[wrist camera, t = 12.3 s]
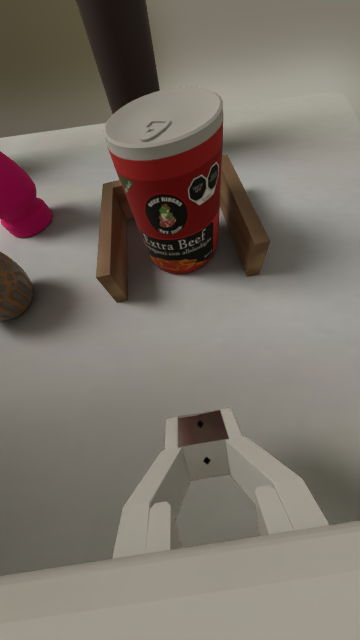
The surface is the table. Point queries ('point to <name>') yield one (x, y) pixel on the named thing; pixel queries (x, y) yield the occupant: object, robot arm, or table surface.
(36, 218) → the pepper mill
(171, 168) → the canned food
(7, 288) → the vase
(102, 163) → the table surface
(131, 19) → the bottle
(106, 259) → the bay
